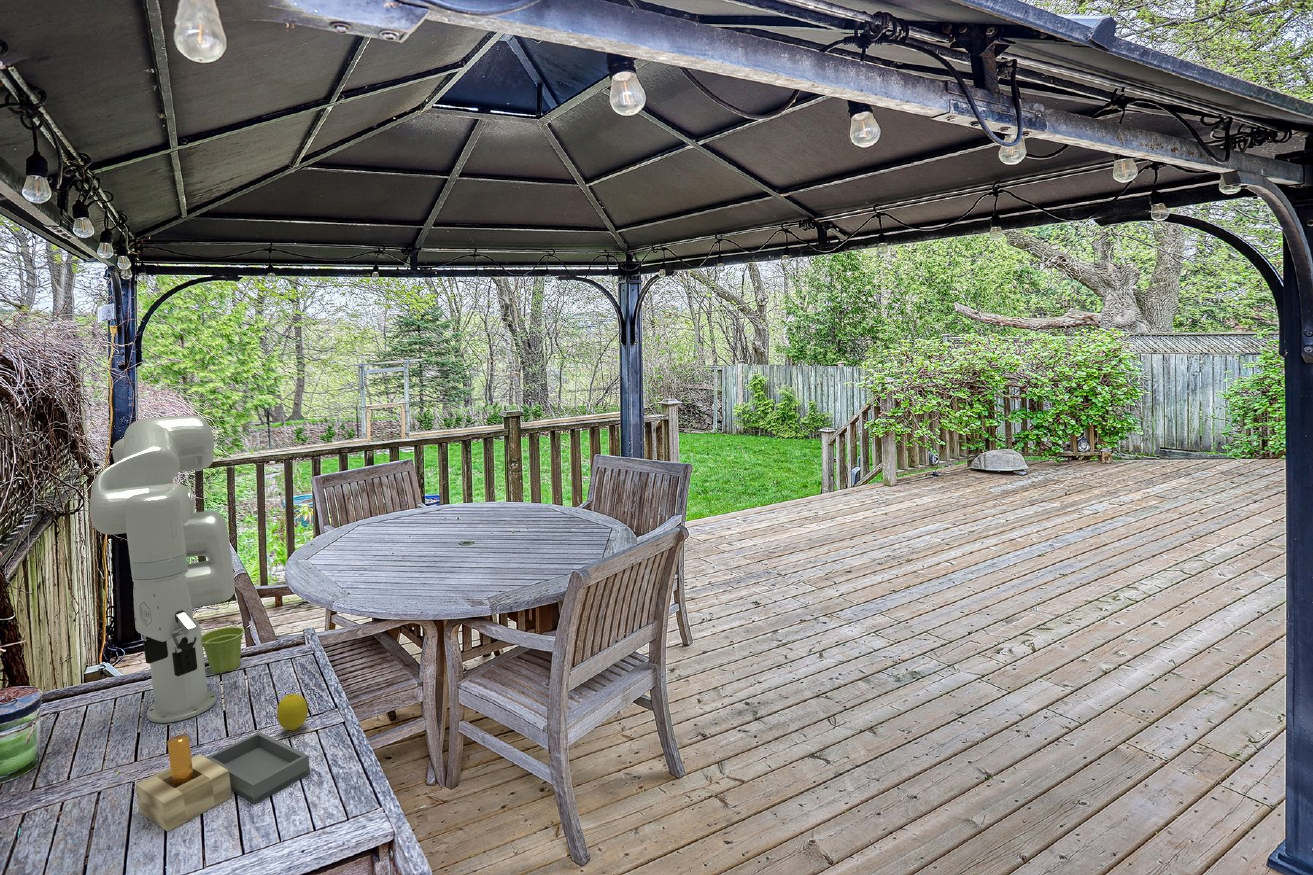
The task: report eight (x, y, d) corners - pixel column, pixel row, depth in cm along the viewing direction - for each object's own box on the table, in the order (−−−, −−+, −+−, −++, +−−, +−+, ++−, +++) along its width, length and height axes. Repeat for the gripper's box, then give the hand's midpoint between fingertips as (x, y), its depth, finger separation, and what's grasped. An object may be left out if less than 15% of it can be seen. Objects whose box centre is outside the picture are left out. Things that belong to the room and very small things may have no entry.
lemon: (296, 739, 139) (293, 701, 138) (272, 736, 140) (268, 699, 139) (315, 724, 144) (312, 688, 143) (291, 722, 145) (288, 685, 144)
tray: (206, 775, 127) (204, 757, 127) (261, 748, 136) (259, 731, 135) (255, 804, 119) (253, 785, 119) (310, 773, 128) (308, 755, 127)
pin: (171, 806, 119) (163, 740, 117) (191, 796, 122) (183, 732, 120) (180, 812, 117) (172, 745, 116) (199, 801, 120) (192, 737, 118)
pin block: (138, 811, 118) (135, 783, 117) (202, 779, 126) (199, 753, 126) (167, 831, 113) (164, 803, 112) (231, 797, 121) (228, 770, 120)
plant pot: (227, 678, 165) (223, 643, 164) (193, 675, 167) (189, 641, 166) (256, 660, 174) (253, 627, 173) (223, 658, 176) (220, 625, 175)
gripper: (109, 566, 116) (121, 664, 118) (159, 581, 107) (172, 687, 109) (159, 554, 122) (170, 647, 124) (211, 568, 113) (222, 668, 115)
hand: (171, 666), depth 116 cm, fingers open, 9 cm apart
